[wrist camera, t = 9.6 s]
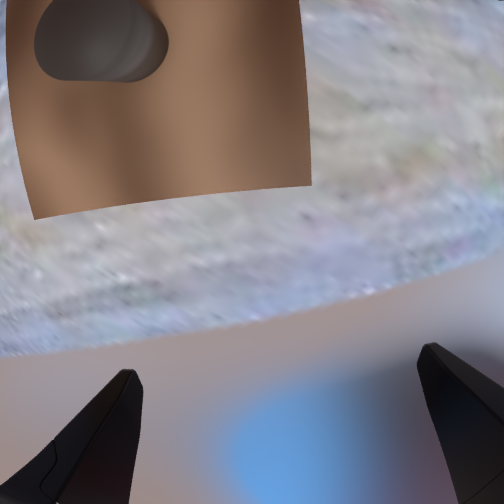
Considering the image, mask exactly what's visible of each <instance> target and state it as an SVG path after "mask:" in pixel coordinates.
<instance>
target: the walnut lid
mask: <svg viewBox="0 0 504 504" xmlns="http://www.w3.org/2000/svg"><path fill="white" fill-rule="evenodd" d="M6 62H7V78H8V89H9V99H10V107H11V115H12V122H13V129H14V135H15V140H16V146H17V151H18V156H19V161H20V166H21V170H22V175H23V179H24V183H25V187H26V191H27V195H28V199H29V203H30V206H31V210H32V213H33V217H34V220H36V219H42V218H47V217H52V216H58V215H63V214H69V213H75V212H81V211H87V210H93V209H99V208H106V207H112V206H119V205H126V204H133V203H140V202H148V201H155V200H163V199H171V198H179V197H188V196H196V195H206V194H215V193H225V192H235V191H246V190H257V189H270V188H283V187H297V186H312V181H311V151H310V129H309V111H308V95H307V81H306V68H305V56H304V45H303V34H302V24H301V15H300V6H299V0H7V6H6Z"/></svg>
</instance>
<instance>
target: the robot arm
mask: <svg viewBox="0 0 504 504" xmlns="http://www.w3.org/2000/svg"><path fill="white" fill-rule="evenodd" d="M499 1H503V0H499ZM417 370H418V374H419V377H420V381H421V385H422V388H423V392H424V396H425V400H426V403H427V407H428V410H429V413H430V415H431V418H432V421H433V424H434V427H435V430H436V432H437V435H438V438H439V441H440V444H441V447H442V450H443V453H444V456H445V459H446V463H447V466H448V469H449V472H450V475H451V479H452V482H453V486H454V489H455V493H456V496H457V500H458V504H504V388H503V387H502V386H500V385H499V384H497V383H496V382H494V381H493V380H491V379H490V378H488V377H487V376H485V375H484V374H482V373H481V372H479V371H478V370H477V369H475V368H474V367H472V366H471V365H469V364H468V363H466V362H465V361H463V360H461V359H460V358H459V357H457V356H456V355H454V354H452V353H451V352H449V351H448V350H446V349H445V348H443V347H442V346H440V345H439V344H437V343H435V342H432V343H428V344H425V345H424V346H423V347H422V350H421V352H420V355H419V358H418V361H417ZM142 403H143V386H142V384H141V382H140V379H139V377H138V375H137V373H136V371H135V370H133V369H122V370H121V371H119V373H118V374H117V375H116V376H115V377H114V378H113V379H112V380H111V381H110V382H109V383H108V384H107V385H106V386H105V387H104V388H103V389H102V390H101V391H100V392H99V393H98V394H97V395H96V396H95V397H94V398H93V399H92V400H91V401H90V402H89V403H88V404H87V405H86V406H85V407H84V408H83V409H82V410H81V411H80V412H79V413H78V414H77V415H76V416H75V417H74V419H72V420H71V422H69V423H68V424H67V426H66V427H64V428H63V430H62V431H61V432H60V433H59V434H58V435H57V436H56V437H55V438H54V440H52V441H51V442H50V443H49V444H48V445H47V446H46V447H45V448H44V449H43V450H42V451H41V452H40V453H39V454H38V455H37V456H36V457H34V458H33V459H32V460H31V461H30V462H29V463H28V464H26V465H25V466H24V467H23V468H21V469H20V470H19V471H18V472H17V473H15V474H14V475H13V476H12V477H10V478H9V479H8V480H7V481H6V482H4V483H3V484H2V485H0V504H129V497H130V491H131V484H132V478H133V471H134V466H135V460H136V454H137V449H138V444H139V438H140V429H141V416H142Z"/></svg>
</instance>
